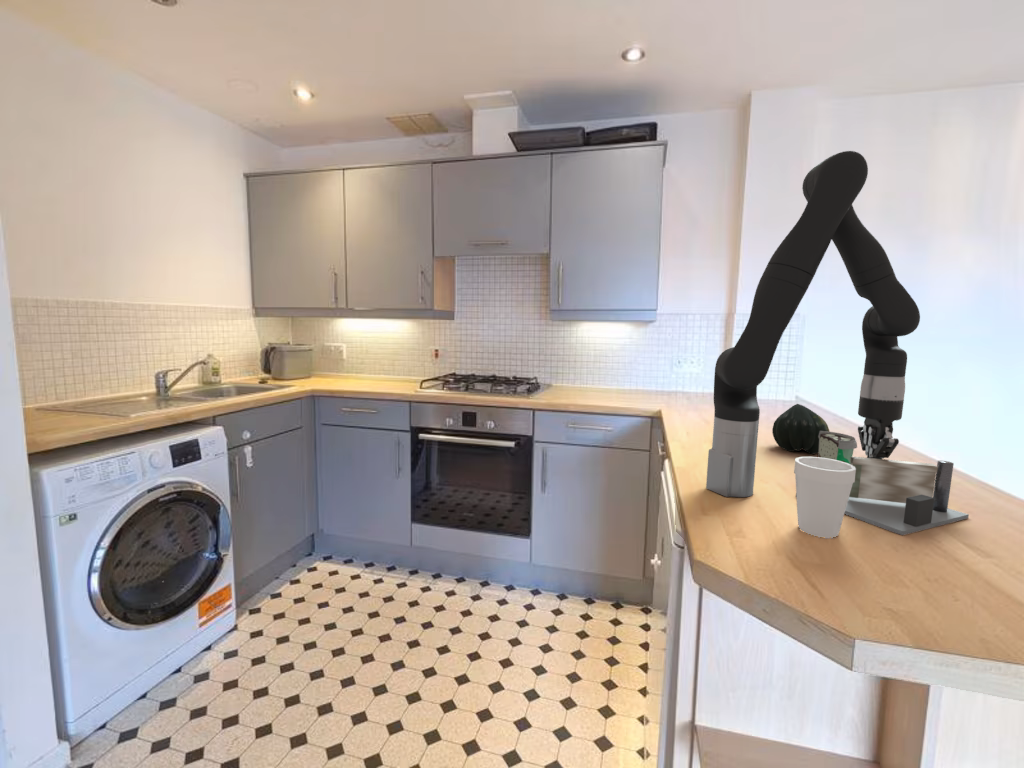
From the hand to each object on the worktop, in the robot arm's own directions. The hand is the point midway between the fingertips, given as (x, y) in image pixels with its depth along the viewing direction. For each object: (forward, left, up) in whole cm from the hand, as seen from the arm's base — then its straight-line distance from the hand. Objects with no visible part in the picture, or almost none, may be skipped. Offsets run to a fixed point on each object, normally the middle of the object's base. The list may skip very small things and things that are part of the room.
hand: (872, 473), depth 103 cm
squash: (+25, +35, -6) cm, 44 cm away
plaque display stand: (-3, -3, -6) cm, 7 cm away
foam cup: (-27, -7, -6) cm, 28 cm away
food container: (+13, +15, -6) cm, 21 cm away
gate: (-1, -4, -4) cm, 6 cm away
